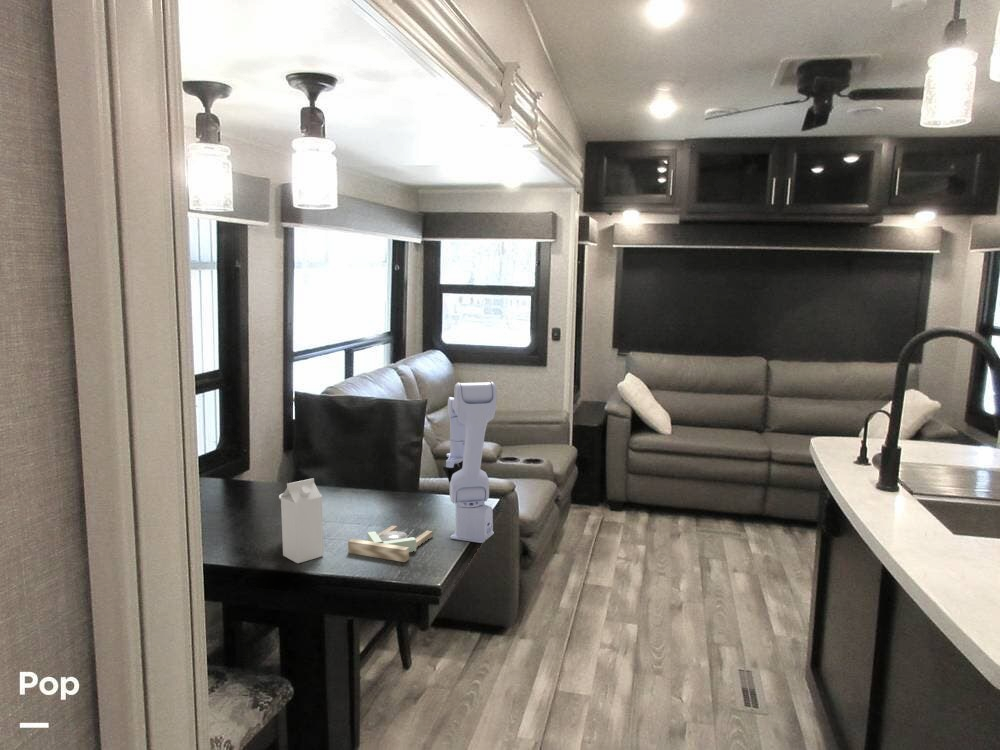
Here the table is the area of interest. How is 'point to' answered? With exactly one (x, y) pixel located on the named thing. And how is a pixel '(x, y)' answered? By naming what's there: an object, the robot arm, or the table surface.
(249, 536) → the table surface
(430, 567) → the table surface
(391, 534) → the aluminium cover
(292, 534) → the milk carton
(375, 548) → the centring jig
